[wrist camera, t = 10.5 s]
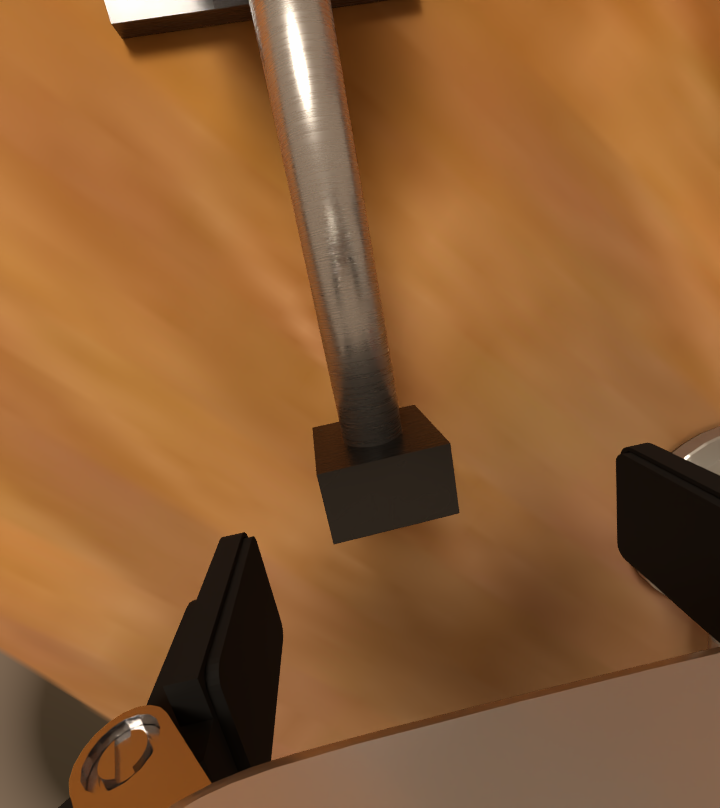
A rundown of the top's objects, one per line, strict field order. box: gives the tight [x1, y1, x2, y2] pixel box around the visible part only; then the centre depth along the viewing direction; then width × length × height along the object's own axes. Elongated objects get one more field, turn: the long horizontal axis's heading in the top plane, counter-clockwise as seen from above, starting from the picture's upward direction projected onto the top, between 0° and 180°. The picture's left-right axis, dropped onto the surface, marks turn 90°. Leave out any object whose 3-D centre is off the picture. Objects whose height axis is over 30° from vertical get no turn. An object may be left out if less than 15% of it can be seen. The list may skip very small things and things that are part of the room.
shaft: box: [249, 0, 459, 544], centre depth 12 cm, size 20×4×4 cm, turn 11°
